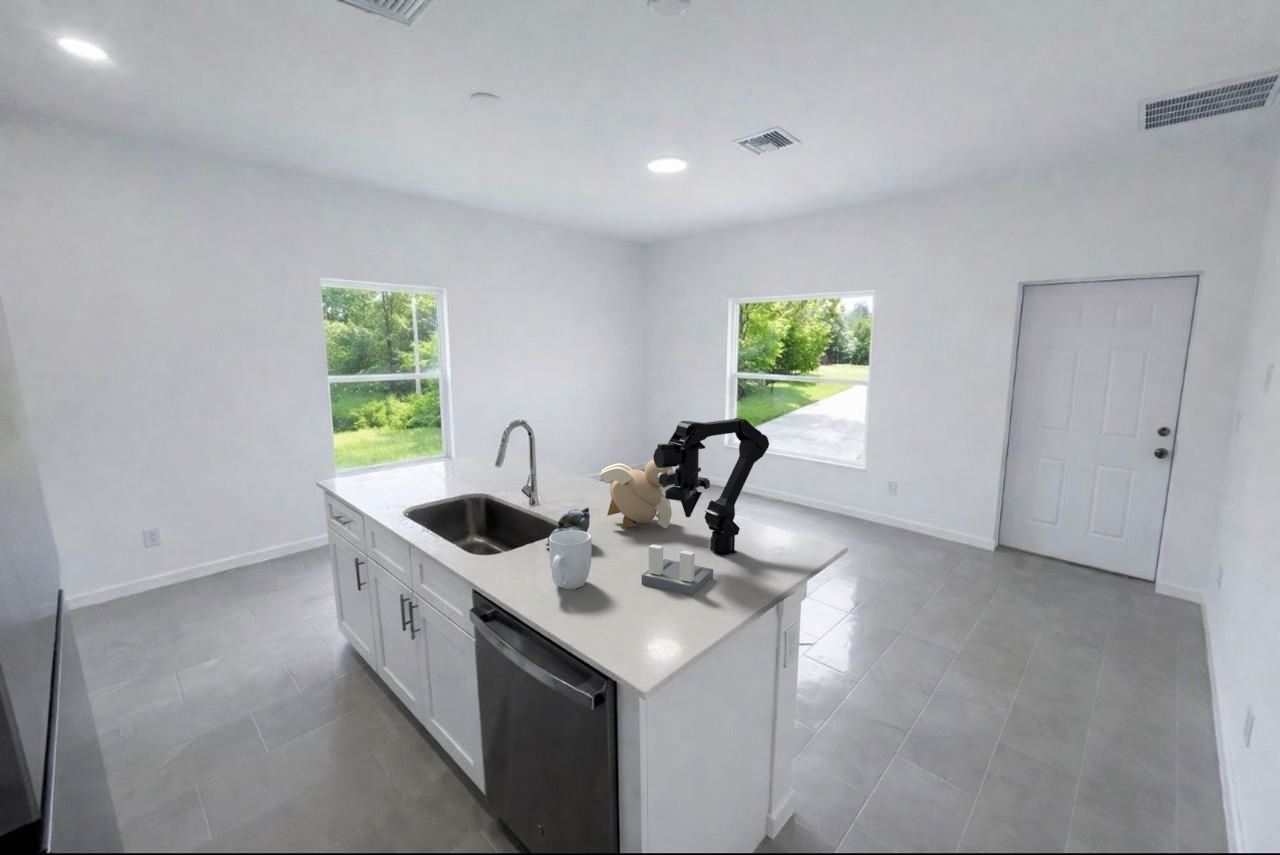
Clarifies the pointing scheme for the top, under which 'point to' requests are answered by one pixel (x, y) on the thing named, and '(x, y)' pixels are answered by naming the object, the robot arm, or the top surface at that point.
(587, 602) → the top surface
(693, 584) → the breaker panel
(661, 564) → the block
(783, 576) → the top surface
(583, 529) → the lucky cat figurine
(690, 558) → the block
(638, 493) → the chick figurine
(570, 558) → the mug
